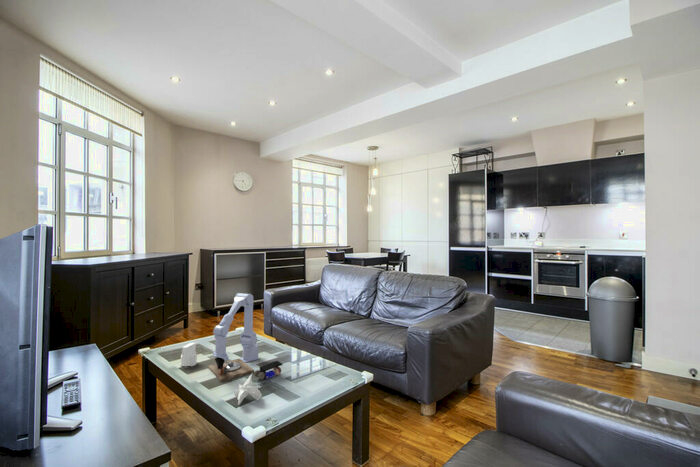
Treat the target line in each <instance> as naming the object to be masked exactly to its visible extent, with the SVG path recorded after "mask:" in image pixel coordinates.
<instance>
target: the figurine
mask: <svg viewBox="0 0 700 467" xmlns="http://www.w3.org/2000/svg"><path fill="white" fill-rule="evenodd" d="M253 375H254V372H253V373H250V376H248V378H247V380H246V381H245V382H244V383H243V385H242V384H238V385H237V387H238V389H237V390H235V391H234V396H235V397H236V398H237V400H238V402H237V405H238V406H240V405H241V403H242V402H243V400H244V398H247V396H249V395H250V396H251V397H253V398H254V399H255V400H256V401H260V399H261V398H262V397H263V395H262V393H261V391H260V390H259V389H258V387H259V386H258V384H257V385H255V386H254V385H252V381H253V379H252V377H253Z"/></svg>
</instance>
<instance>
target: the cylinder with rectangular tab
mask: <svg viewBox="0 0 700 467" xmlns="http://www.w3.org/2000/svg"><path fill="white" fill-rule="evenodd" d="M196 346H197V344H196V342H190V343H187V344H185V345H184V346H181V355H180V367H181V366H191V367H194V366H195V365H197V363H198V359H197V358H198V356H197V355H198V353H197V352H196V348H197V347H196Z"/></svg>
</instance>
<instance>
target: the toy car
mask: <svg viewBox="0 0 700 467" xmlns="http://www.w3.org/2000/svg"><path fill="white" fill-rule="evenodd" d="M283 365H284V364H283V363H281V361H278V360H276V361H272V362H269V363H266V364H264V365H262V366H259V369H255V370H254V372H253V376H254V377H255V378H258V381H260V382H261V383H263V382H264V381H266V380H267V379H269V378H273V377H274V376H275V377H278V376H280V375H281V373H282V369H281V367H280V366H283Z"/></svg>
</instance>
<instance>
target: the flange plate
mask: <svg viewBox="0 0 700 467" xmlns="http://www.w3.org/2000/svg"><path fill="white" fill-rule="evenodd" d="M224 367H227V372H228V371H235V370H237V369H239V368H240V363H236V362H228V363H227V364H224V365H223V367H221V368H219V369H218V374H220V375H221V374H223V373H224Z"/></svg>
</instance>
